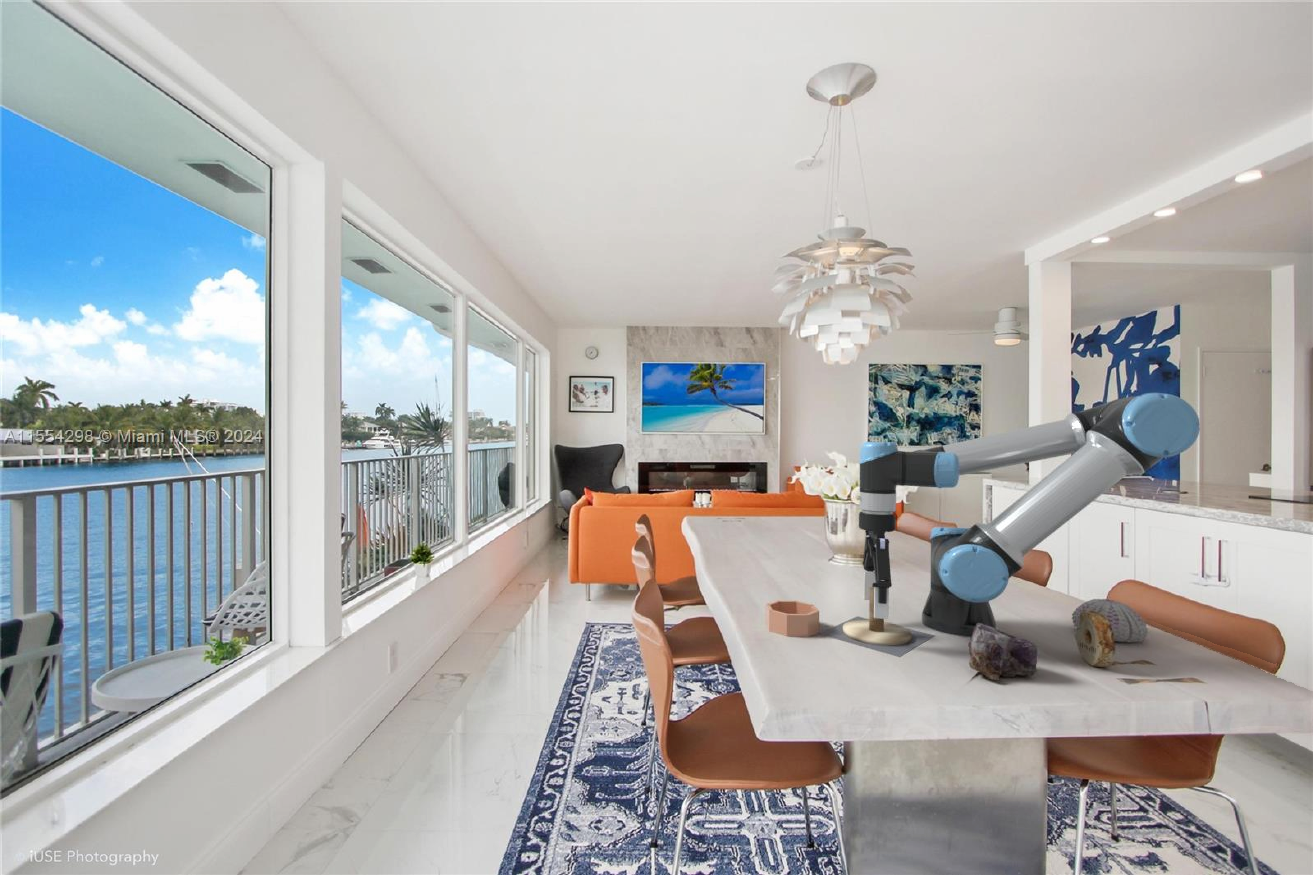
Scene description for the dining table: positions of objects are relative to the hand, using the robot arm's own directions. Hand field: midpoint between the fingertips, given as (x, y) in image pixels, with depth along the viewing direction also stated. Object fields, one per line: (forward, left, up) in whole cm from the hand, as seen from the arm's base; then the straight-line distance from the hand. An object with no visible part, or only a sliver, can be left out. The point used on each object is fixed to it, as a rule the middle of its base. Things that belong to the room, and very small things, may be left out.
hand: (875, 608), depth 126 cm
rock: (-24, +2, -6) cm, 25 cm away
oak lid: (0, 0, -6) cm, 6 cm away
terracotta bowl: (+15, +10, -6) cm, 19 cm away
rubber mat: (0, 0, -6) cm, 6 cm away
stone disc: (-36, -17, -6) cm, 41 cm away
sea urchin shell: (-35, -39, -6) cm, 53 cm away
